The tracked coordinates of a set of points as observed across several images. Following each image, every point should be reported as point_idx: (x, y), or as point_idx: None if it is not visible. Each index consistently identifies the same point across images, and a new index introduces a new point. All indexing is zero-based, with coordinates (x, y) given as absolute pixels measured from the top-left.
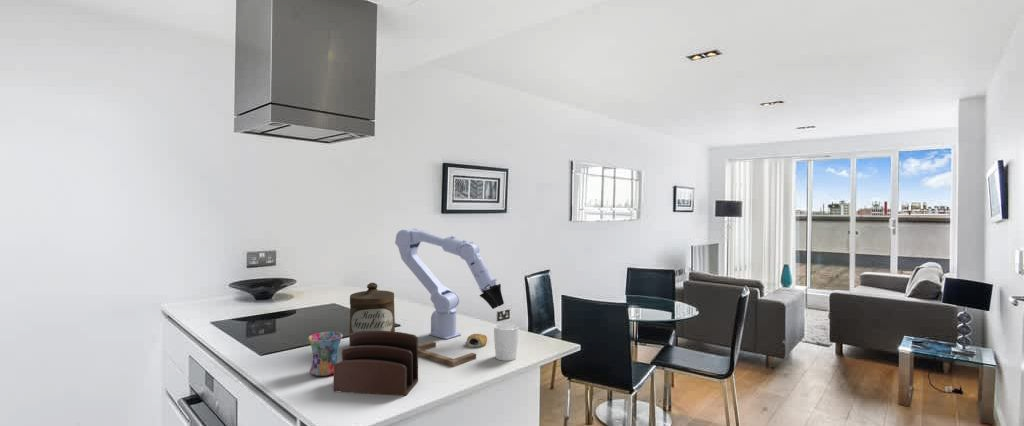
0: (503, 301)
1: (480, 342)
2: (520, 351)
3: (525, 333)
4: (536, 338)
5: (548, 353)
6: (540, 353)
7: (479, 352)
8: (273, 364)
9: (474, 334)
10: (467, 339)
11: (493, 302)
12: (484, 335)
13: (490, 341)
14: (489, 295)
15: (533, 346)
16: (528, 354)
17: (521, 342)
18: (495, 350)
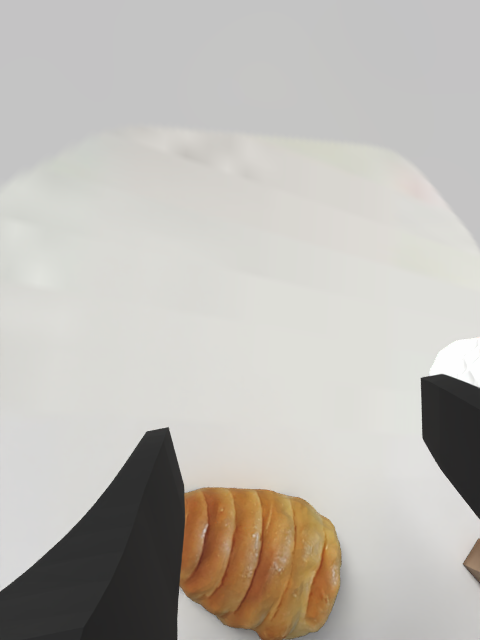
0: (461, 380)
1: (336, 534)
2: (391, 304)
3: (32, 183)
4: (170, 150)
5: (420, 179)
6: (419, 215)
7: (397, 526)
8: None
9: (270, 599)
10: (299, 636)
11: (167, 507)
12: (235, 515)
13: (205, 460)
14: (149, 636)
15: (320, 216)
16: (430, 275)
17: (244, 264)
18: None
